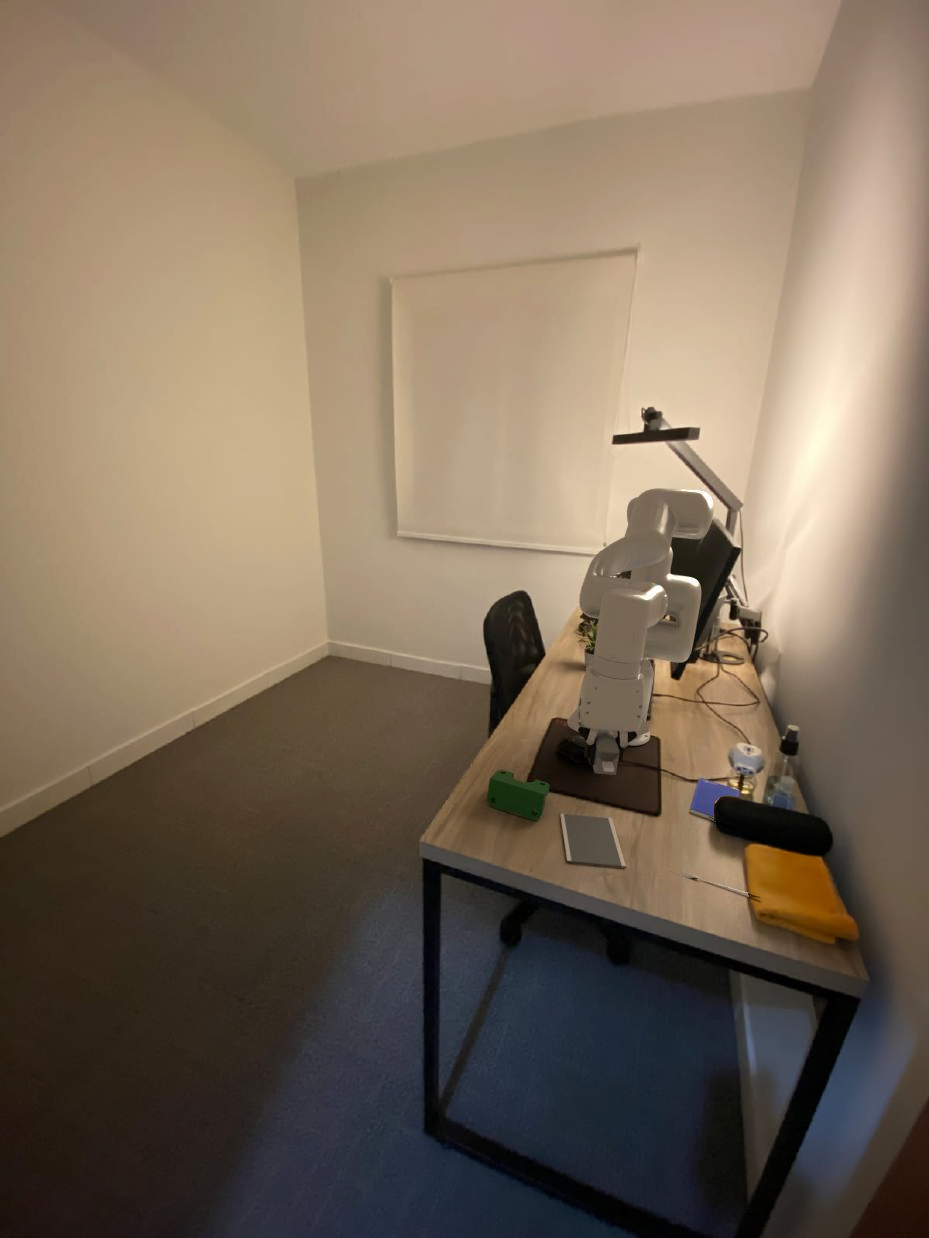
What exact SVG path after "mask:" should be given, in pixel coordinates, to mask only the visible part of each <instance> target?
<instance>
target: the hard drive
mask: <svg viewBox="0 0 929 1238" xmlns="http://www.w3.org/2000/svg"><path fill="white" fill-rule="evenodd" d="M727 795H729V796H736V797H739V798H740V797H741V791H740V790H739V789H736V788H734V787H730V786H728V785H724V784H722V783H718V782H715V781H712V780H710V779H706V778H703V777H699V778H698V780H697V784H696V787H695V791H694V795H693V798H692V801H691V805H690V808H689V812H690V813H691V814H694V815H697V816H699V817H702V818H705V819H708V820H710V821H713V822H715V821H714V804H715V801H716V800H717V799H718V798H719V797H722V796H727Z"/></svg>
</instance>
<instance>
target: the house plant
mask: <svg viewBox="0 0 929 1238" xmlns="http://www.w3.org/2000/svg"><path fill="white" fill-rule="evenodd" d="M590 623H591V632H592V635H590V633H588V631H587V630H586V628H585V627H584V626H582V625H580V624H579V627H582V629H583V630H584V634H585V635H586V636H587V639H588V640H584V639H583V638H582V637H580V636H575V637H577V638H579V639H580V640H579V639H578V641H577V643H581V642H583V643H584V644H585V648H584V650H583V651H584V668H585V667H586V668H587V667H588V666H593V658H594V651H595V643H596V635H597V628H598V622H597V624H596V625H595V624H594V622H593V621H592V620H590ZM575 625H577V626H578V624H575ZM586 668H585V669H586Z"/></svg>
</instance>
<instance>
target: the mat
mask: <svg viewBox="0 0 929 1238" xmlns="http://www.w3.org/2000/svg"><path fill="white" fill-rule="evenodd" d="M559 818H560V825H561V831H562V837H563V845H564V851H565V856H566V858H565V859H566V862H567V863H568V864H580V865H589V866H599V867H609V868H611V867H612V868H621V869H622V868H623V869H626V867H627V864H626V861H625V858H624V855H623V852H622V848H621V846H620V842H619V838H618V834H617V832H616V828H615V824H614V820H613V818H612V817H602V816H601V817H600V816H592V815H591V816H590V815H577V814H569V813H568V814H567V813H559Z"/></svg>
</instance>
